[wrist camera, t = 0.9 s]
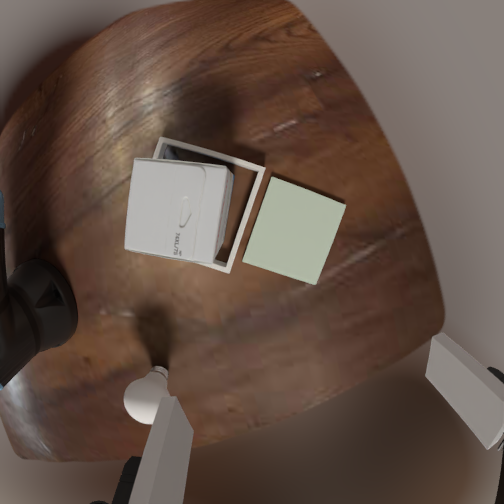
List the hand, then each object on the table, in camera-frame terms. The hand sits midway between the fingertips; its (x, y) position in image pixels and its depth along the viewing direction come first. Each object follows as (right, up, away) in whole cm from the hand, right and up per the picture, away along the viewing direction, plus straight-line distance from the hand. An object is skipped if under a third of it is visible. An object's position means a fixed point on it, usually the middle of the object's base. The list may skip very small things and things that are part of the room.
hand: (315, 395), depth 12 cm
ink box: (-10, +13, +22) cm, 27 cm away
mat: (+2, +9, +23) cm, 25 cm away
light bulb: (-17, -12, +27) cm, 34 cm away
